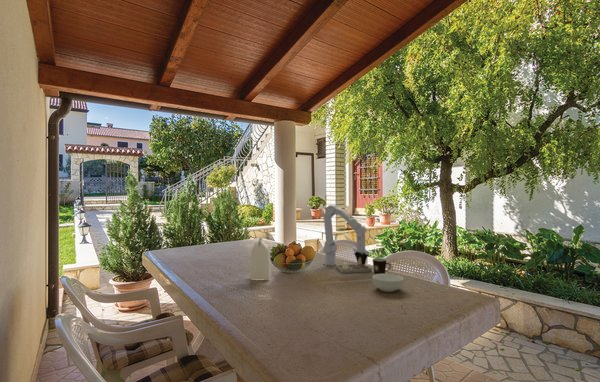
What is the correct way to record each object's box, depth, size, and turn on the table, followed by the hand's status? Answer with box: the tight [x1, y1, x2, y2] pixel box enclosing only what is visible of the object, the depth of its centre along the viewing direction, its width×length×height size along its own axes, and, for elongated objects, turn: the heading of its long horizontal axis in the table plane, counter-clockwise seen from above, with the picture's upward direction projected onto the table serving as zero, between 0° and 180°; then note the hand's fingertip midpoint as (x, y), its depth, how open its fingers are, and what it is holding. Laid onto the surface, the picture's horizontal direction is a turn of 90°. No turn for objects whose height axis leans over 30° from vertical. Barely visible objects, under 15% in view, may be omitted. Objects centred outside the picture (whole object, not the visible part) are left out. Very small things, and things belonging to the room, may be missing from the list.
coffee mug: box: [372, 257, 392, 275], centre depth 210 cm, size 12×9×10 cm
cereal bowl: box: [371, 273, 405, 293], centre depth 181 cm, size 17×17×7 cm
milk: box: [250, 235, 272, 281], centre depth 209 cm, size 12×12×26 cm
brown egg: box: [357, 257, 364, 266], centre depth 227 cm, size 4×4×6 cm
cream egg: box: [342, 261, 349, 270], centre depth 218 cm, size 4×4×6 cm
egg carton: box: [335, 263, 372, 274], centre depth 223 cm, size 14×20×3 cm
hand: (361, 263), depth 227 cm, fingers closed on brown egg, 4 cm apart
